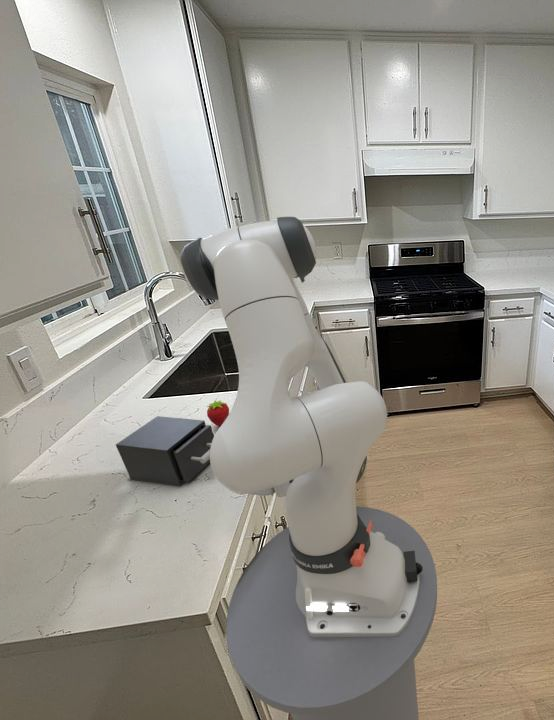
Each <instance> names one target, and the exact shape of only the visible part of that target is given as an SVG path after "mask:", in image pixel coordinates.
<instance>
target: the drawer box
mask: <svg viewBox="0 0 554 720" xmlns="http://www.w3.org/2000/svg"><path fill="white" fill-rule="evenodd" d="M206 425H207V424H206V421H205V420H202V419H193V418H182V417H171V416H159V415H157V416H156V417H154V418H153V419H151V420H149V421H148V422H146V423H145V424H143V425H142V426H140V427H139V428H138V429H136V430H135V431H133V432H132V433H131V434H128V436H126V437H124V438H122V440H120V441H118V442H117V443H115V447H116V449H117V452H118V453H119V456H120V458H121V460H122V462H123V465H124V467H125V469H126V472H127V474H128V476H129V479H130V480H135V481H142V482H148V483H156V484H162V485H163V484H164V485H170V486H178V487H181V486H182V485H183V484H184V483H185V482H184V479H183V477H182V478H180V476H179V473H178V470H177V468H176V465H175V462H174V460H173V457H172V454H171V452H170V451H171V450H172V449H174V448H175V447H176V446H177V445H179V444H180V443H181V442H182V441H184V440H185V439H186V438H187V437H188V436H190V435H191V434H192V433H193V432H195V431H196V430H197V429H198V428H200V427H201V429H203V428H204V427H205V426H206Z"/></svg>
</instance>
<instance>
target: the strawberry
mask: <svg viewBox="0 0 554 720" xmlns="http://www.w3.org/2000/svg"><path fill="white" fill-rule="evenodd" d="M206 408H207V410H206V415H207V418H208V420H209V421H210V422H211V423H212V424H214V425H215V426H217V427H219V428H220V427H221V425H222V424H223V423H224V421H225V420H226V418H227V417H228V415H229V413H230V408H229V405H228V404H227V403H226V402H222V400H218V401H217V399H215V400H214V402H212V403H209V404H208V405H207V406H206Z"/></svg>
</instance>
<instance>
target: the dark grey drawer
mask: <svg viewBox="0 0 554 720" xmlns="http://www.w3.org/2000/svg"><path fill="white" fill-rule="evenodd" d="M214 436H215V433H214V432H213V428H212V425H210V424H206V426H205V427H204V428H203V429H201V427H200V428H198V429H197V430H196V431H195V432H193V433H192V434H191V435H190V436H188V437H187V438H186V439H185V440H184V441H182V442H181V443H180V444H179V445H177V446H176V447H175V448H174V449H172V450H171V451H170V452H171V454H172V457H173V460H174V462H175V465H176V468H177V470H178V473H179V476H180V478H182V477H183V479H184V483H189V482H190V481H191V480H193V479H194V478H195V477H196V476H197V475H198V474H199V473H200V472H201V471H202V470H203V469H204V468H205V467H206V466H207V465H208V464H209V463H210V447H211V443H212V440H213V438H214Z"/></svg>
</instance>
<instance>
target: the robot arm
mask: <svg viewBox="0 0 554 720" xmlns="http://www.w3.org/2000/svg"><path fill="white" fill-rule="evenodd" d="M316 259H317V247H316V243H315V239H314V236H313V235H312V233H311V232H310V230H309V229H308V227H306V226H305V224H304V223H303V222H302V221H301V219H299V218H297V217H295V216H277V217H276V219H271V220H264V221H259V222H253V223H248V224H244V225H241V226H239V225H237V226H232V227H230V228H226V229H224V230H221V231H218V232H216V233H213V234H211V235H208V236H206V237H203V238H202V237H198V238H196V239H193V240H192V241H190V242H188V243H186V244H185V245H184V246H183V248H182V250H181V253H180V263H181V269H182V272H183V276H184V278H185V280H186V281H187V283H188V284H189V286H190V287H191V288H192V289H193V290H194V291H195V293H196V294H197V295H198V296H199V297H201V298H204V299H206V300H209V301H218V302H219V305H220V309H221V313H222V316H223V319H224V321H225V325H226V328H227V331H228V334H229V337H230V341H231V344H232V346H233V347H232V348H233V350H234V354H235V359H236V362H237V368H238V387H237V393H236V397H235V400H234V403H233V405H232V407H231V409H230V410H229V415H228V417H227V418H226V420H225V421H224V423H223V424H222V425H221V427H219V428H218V429H217V430H216V432H215V433H214V438H213V440H212V443H211V447H210V462H209V463H210V467H211V471H212V473H213V475H214V476H215V478H216V480H217V481H218V482H219V483H220V484H221V485H222V486H223V487H224V488H225V489H226V490H228V491H230V492H232V493H234V494H236V495H240V496H242V495H243V496H244V495H253V496H262V497H263V496H266V497H267V496H271V495H275V496H276V497H277V498H284V502H283V511H284V514H285V519H286V523H287V527H289V531H290V534H289V542H290V547H291V552H292V556H293V559H294V561H295V563H296V565H297V586H296V602H297V605H298V608H299V610H300V611H301V613H302V614H303V615H304V617H305V619H306V623H307V630H308V633H309V635H310V636H311V637H394V636H398V635H399V634H400V633H401V632H402V631H403V630H404V629H405V628H406V626H407V625H408V623H409V621H410V620H411V617H412V615H413V613H414V610H415V607H416V603H417V599H418V594H419V586H420V576H419V574H420V573H421V572H422V570H423V567H422V565H421V564H419V563H417V562H416V560H415V551H406V552H403V553H402V551H401V550H400V549H399V547H398V546H396V545H394V544H392V543H391V542H389V541H387V540H385V536H384V534H383V533H381V532H376V533H373V532H371V529H372V524H371V523H372V520H370V522H369V525H368V527H367V528H366V526H365V524H364V523H363V521H362V520H361V518H360V517H359V515H358V514H357V512H356V507H357V504H356V503H357V502H356V486H357V485H356V484H358V483H359V482H360V480H361V479H362V477H363V475H364V473H365V470H366V467H367V460H368V453H370V450H371V449H372V447H373V446H374V445H375V443H376V442H377V441H378V440H379V439H380V438H381V436H382V435H384V433H385V430H386V427H387V423H388V409H387V405H386V402H385V400H384V398H383V396H382V395H381V393H380V392H379V390H377V389H376V388H375V387H374V386H373V385H372V384H370V383H369V382H367V381H364V380H358V381H350V382H347V381H346V380H345V379H346V378H345V377H344V375H343V373H342V371H341V369H340V367H339V365H338V363H337V361H336V359H335V356H334V355H333V352H332V351H331V349H330V347H329V345H328V344H327V342H326V341H325V339H324V338H323V337H322V336H321V335H320V334H319V331H318V330H317V328H316V325H315V323H314V322H313V319H312V316H311V314H310V312H309V308H308V307H307V304H306V302H305V300H304V297H303V295H302V294H301V291H300V289H299V288H298V286H297V284H296V282H295V280H294V279H297V278H299V279H300V282H301V284H303V283H304V282H305V278H306V277H307V276H308V275H309V274H311V273H313V270H314V268H315V266H316V264H317V260H316ZM304 367H306V368H307V369H308V370H309V371H310V374H311V375H312V377H313V379H314V381H315V383H316V385H317V386H318V388H319V389H317V390H314V391H310V392H308V393H305V394H301V395H299V396H293V397H292V396H291V394H290V391H289V382H290V380H291V379H293V378H294V377H295V376H296V375H297V374H298V373H300V371H301V370H303V368H304ZM403 554H404V556H403ZM403 616H404V617H406V618H405V619H402V618H401V617H403ZM323 626H324V627H325V628H324V629H321V627H323ZM369 628H370V629H369Z"/></svg>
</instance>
